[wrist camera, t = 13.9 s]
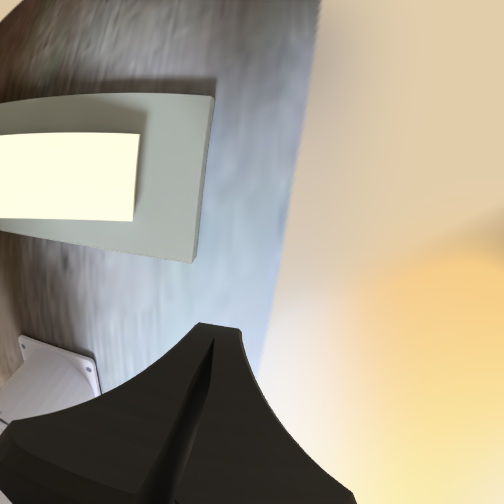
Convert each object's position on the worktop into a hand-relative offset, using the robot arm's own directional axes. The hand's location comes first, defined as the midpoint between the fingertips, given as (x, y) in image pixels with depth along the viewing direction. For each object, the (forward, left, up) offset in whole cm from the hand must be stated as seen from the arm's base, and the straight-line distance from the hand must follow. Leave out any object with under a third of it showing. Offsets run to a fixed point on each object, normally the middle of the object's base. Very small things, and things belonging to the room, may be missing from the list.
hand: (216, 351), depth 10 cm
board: (+4, +14, -9) cm, 17 cm away
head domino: (+4, +6, -8) cm, 10 cm away
